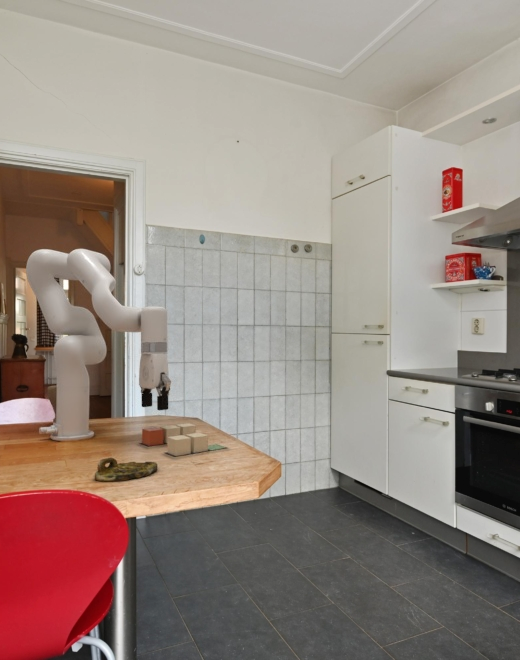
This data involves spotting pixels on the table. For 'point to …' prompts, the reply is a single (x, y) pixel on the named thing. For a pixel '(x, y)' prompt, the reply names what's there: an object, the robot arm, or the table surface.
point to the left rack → (175, 431)
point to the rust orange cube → (152, 436)
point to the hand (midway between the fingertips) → (154, 408)
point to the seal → (123, 470)
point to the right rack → (190, 445)
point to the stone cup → (53, 398)
